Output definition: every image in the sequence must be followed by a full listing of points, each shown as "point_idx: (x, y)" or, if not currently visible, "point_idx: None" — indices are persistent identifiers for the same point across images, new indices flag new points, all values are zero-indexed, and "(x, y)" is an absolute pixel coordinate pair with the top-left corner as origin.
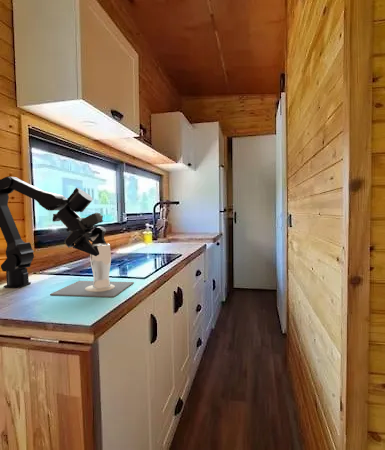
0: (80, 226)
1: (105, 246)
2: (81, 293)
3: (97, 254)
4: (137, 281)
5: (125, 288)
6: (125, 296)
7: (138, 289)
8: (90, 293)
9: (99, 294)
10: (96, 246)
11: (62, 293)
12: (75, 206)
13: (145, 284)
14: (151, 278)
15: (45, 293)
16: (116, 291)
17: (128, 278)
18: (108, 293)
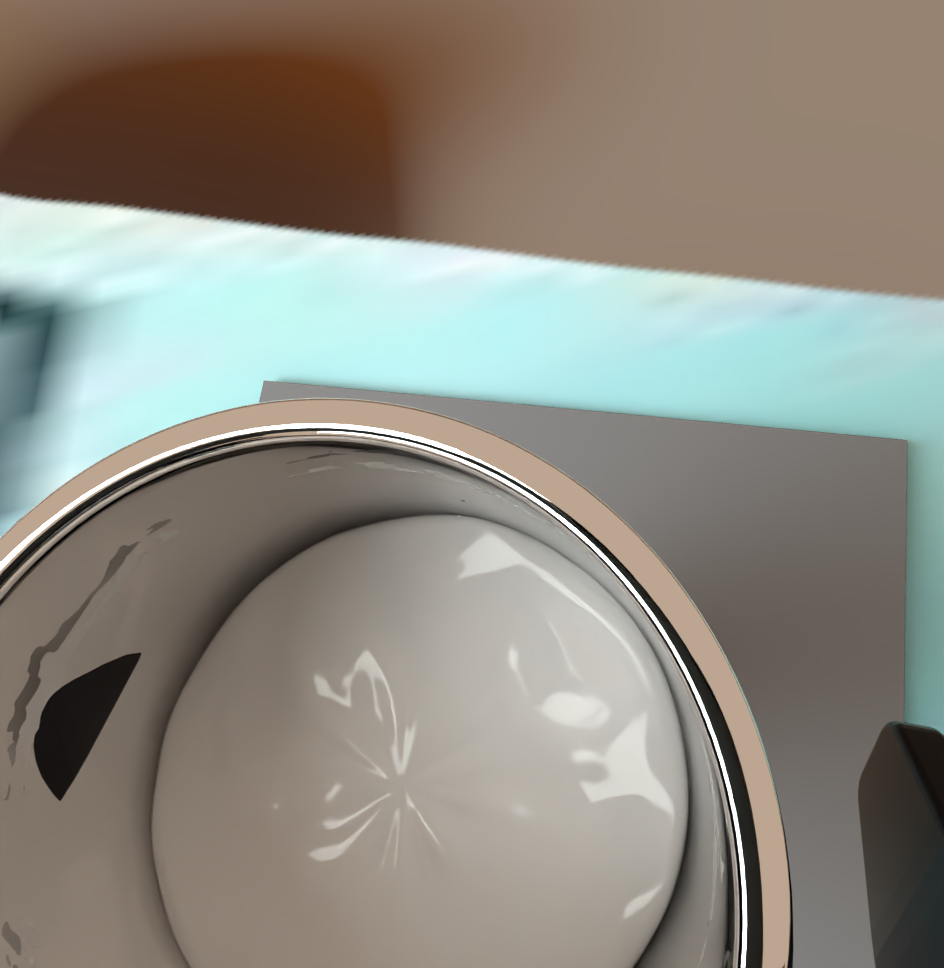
0: None
1: (585, 507)
2: (825, 925)
3: (932, 739)
4: (189, 363)
5: (536, 408)
6: (845, 330)
7: (553, 266)
8: (813, 786)
9: (851, 643)
10: (784, 920)
11: None
12: None
13: (340, 243)
14: (71, 240)
15: None
16: (702, 468)
17: (17, 511)
18: (796, 541)
